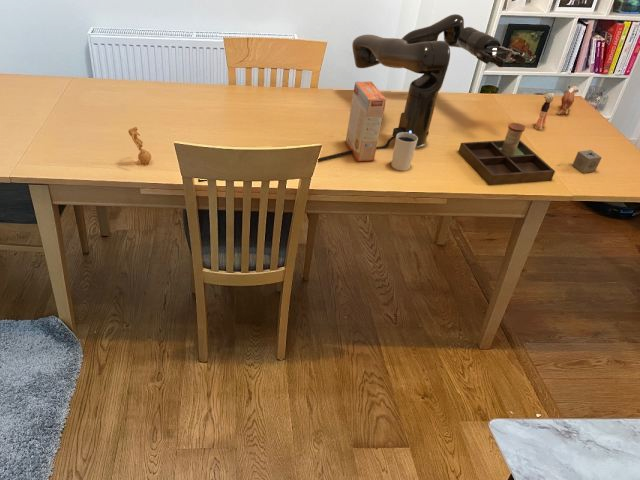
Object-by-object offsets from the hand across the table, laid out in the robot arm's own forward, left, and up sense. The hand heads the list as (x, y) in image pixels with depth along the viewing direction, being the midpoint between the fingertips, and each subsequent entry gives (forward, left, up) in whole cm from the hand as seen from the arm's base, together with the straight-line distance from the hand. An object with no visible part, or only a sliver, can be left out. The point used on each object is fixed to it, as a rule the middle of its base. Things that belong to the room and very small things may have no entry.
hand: (514, 62), depth 187 cm
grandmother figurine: (+23, +6, -26) cm, 35 cm away
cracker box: (-49, -4, -26) cm, 56 cm away
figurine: (-120, -3, -26) cm, 123 cm away
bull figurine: (+41, +18, -26) cm, 52 cm away
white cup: (-39, -15, -26) cm, 50 cm away
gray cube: (+21, -24, -26) cm, 41 cm away
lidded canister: (-2, -14, -25) cm, 29 cm away
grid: (-5, -19, -26) cm, 33 cm away
